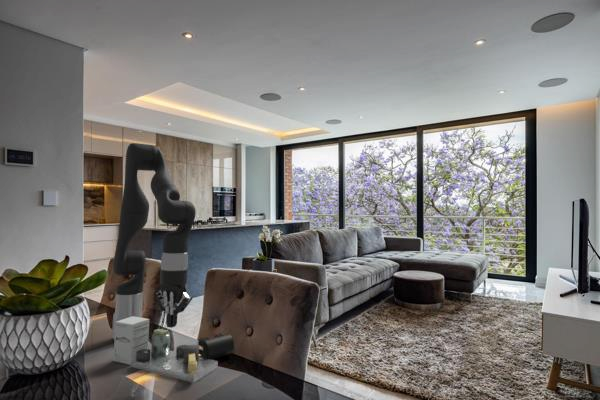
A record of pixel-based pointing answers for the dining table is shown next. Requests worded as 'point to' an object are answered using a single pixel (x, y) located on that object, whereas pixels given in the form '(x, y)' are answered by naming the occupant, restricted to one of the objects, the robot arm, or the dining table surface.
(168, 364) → the grey flat block
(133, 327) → the supplement box
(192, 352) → the level knob
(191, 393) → the dining table surface
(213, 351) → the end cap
